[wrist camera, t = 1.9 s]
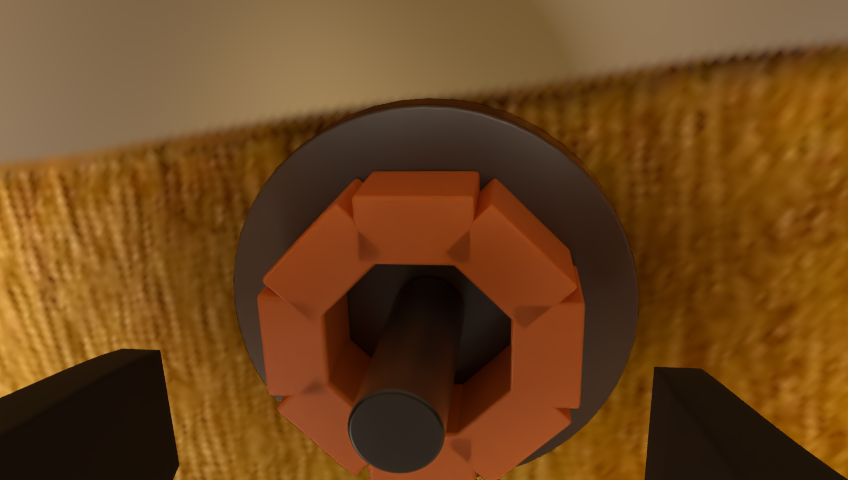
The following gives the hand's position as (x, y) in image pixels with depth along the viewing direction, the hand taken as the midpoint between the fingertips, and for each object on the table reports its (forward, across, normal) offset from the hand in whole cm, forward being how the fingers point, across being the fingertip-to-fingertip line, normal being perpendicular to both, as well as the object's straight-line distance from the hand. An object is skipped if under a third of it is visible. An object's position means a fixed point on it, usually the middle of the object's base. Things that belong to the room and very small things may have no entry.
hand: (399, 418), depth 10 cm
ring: (+4, 0, 0) cm, 4 cm away
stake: (+5, 0, 0) cm, 5 cm away
